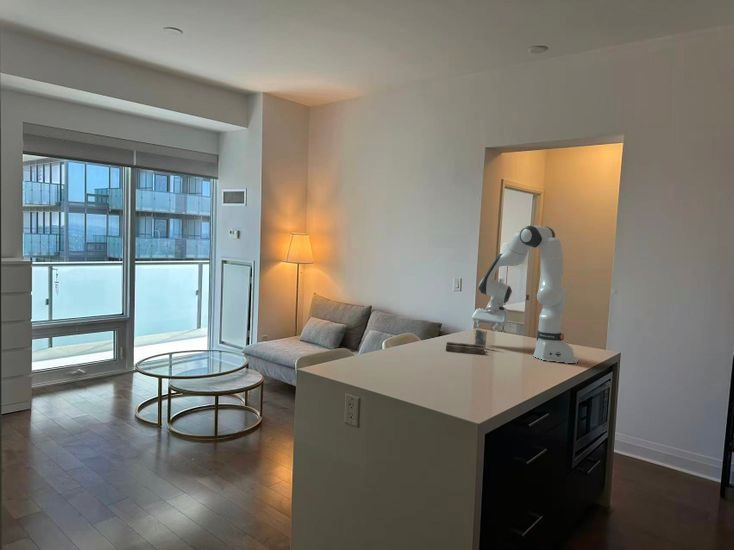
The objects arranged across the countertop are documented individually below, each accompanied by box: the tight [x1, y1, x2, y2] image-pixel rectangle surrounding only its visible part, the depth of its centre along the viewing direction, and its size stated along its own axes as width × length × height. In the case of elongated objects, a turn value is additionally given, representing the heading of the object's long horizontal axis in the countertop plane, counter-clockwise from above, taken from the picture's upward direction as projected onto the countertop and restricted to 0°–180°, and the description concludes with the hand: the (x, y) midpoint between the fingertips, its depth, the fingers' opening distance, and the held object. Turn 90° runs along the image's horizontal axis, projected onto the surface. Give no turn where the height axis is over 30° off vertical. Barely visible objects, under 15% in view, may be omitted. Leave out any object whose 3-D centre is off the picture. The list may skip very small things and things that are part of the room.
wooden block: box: [474, 328, 488, 350], centre depth 300 cm, size 6×2×10 cm, turn 54°
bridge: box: [445, 341, 485, 355], centre depth 290 cm, size 20×10×3 cm, turn 79°
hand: (485, 328), depth 304 cm, fingers open, 8 cm apart
